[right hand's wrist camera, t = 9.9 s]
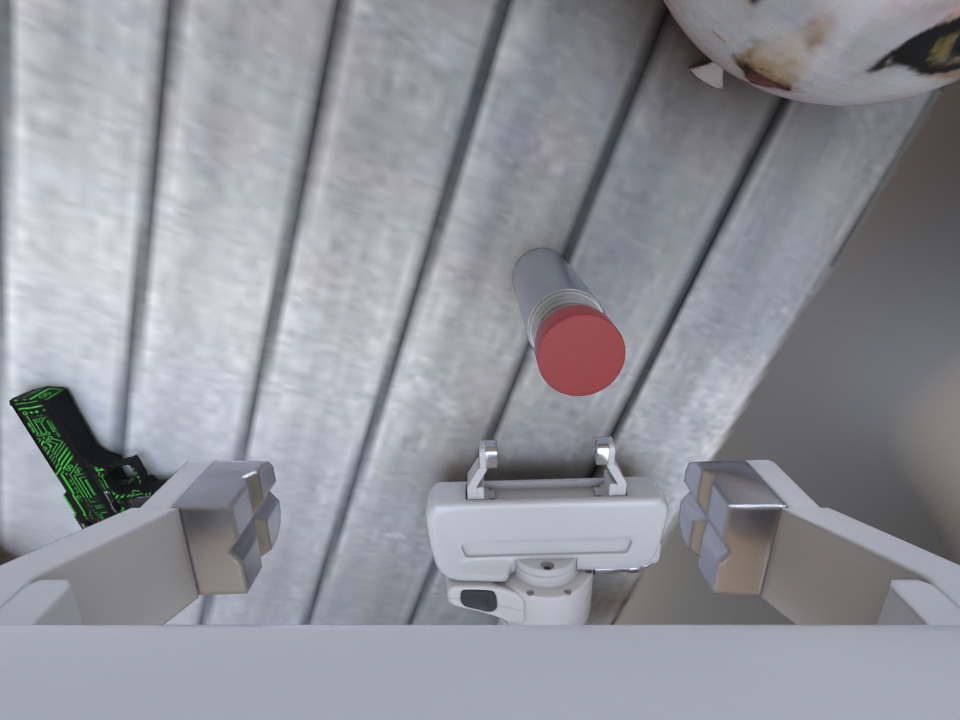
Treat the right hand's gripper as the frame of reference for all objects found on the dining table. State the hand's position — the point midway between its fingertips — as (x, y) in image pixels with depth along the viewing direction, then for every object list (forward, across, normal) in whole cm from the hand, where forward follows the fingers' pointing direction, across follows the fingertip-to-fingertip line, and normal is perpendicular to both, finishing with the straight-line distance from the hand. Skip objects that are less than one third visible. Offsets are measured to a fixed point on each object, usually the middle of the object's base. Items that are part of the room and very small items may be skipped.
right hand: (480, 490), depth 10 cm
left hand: (+29, -5, +15) cm, 33 cm away
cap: (+16, -5, +3) cm, 17 cm away
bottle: (+34, -5, +2) cm, 34 cm away
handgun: (+34, +32, +19) cm, 50 cm away
